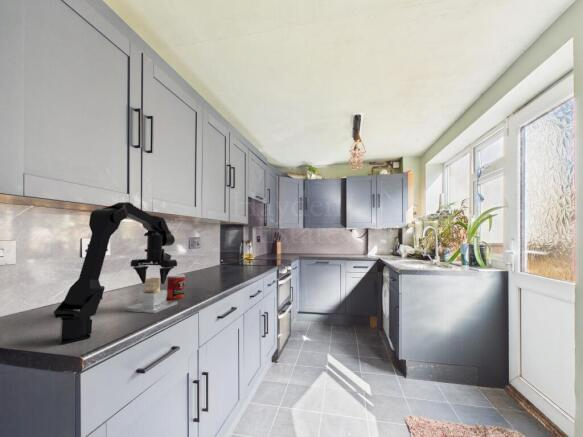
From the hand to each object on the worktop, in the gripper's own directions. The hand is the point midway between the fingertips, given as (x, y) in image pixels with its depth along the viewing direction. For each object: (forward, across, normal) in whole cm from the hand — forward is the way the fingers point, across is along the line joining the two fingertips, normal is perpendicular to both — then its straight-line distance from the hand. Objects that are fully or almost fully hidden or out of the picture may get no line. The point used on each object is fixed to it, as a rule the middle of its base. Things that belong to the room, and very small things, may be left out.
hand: (153, 283), depth 109 cm
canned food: (+10, +1, -16) cm, 19 cm away
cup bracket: (+10, 0, 0) cm, 10 cm away
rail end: (+7, 0, 0) cm, 7 cm away
